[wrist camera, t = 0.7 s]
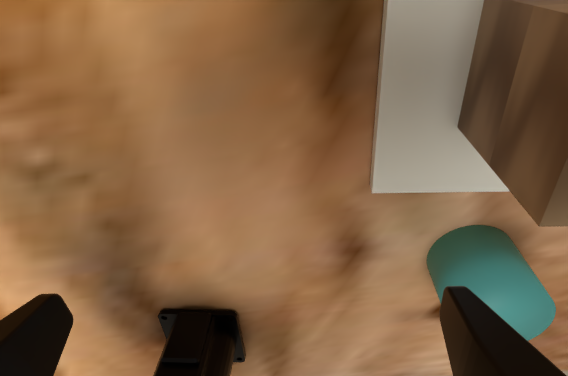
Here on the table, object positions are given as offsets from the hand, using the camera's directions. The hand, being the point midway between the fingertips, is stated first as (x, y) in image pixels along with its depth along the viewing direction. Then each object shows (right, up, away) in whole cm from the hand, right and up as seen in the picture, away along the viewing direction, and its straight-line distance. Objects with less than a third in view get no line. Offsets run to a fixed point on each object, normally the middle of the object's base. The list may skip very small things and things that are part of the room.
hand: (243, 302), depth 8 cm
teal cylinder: (+13, -2, +16) cm, 21 cm away
